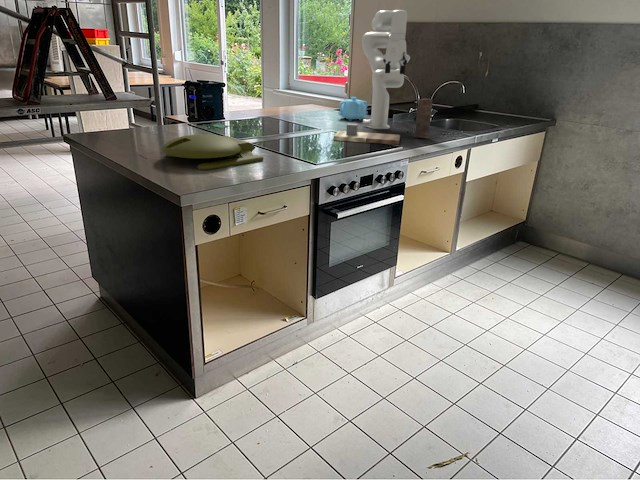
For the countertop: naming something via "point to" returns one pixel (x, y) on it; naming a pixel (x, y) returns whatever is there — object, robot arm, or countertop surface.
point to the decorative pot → (353, 109)
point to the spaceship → (211, 150)
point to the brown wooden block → (423, 118)
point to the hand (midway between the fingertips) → (394, 73)
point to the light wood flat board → (368, 137)
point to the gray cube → (352, 129)
